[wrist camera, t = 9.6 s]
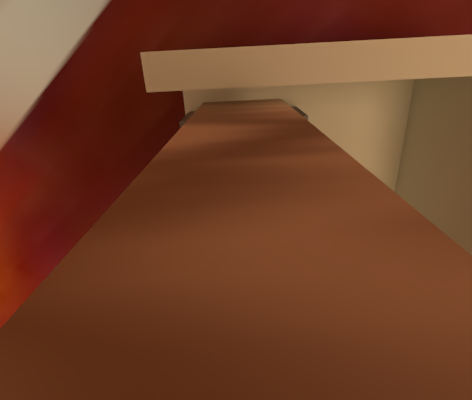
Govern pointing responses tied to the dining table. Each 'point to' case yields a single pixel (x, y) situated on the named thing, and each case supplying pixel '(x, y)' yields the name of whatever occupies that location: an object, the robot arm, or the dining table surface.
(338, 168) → the door
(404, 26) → the dining table surface
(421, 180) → the cabinet
